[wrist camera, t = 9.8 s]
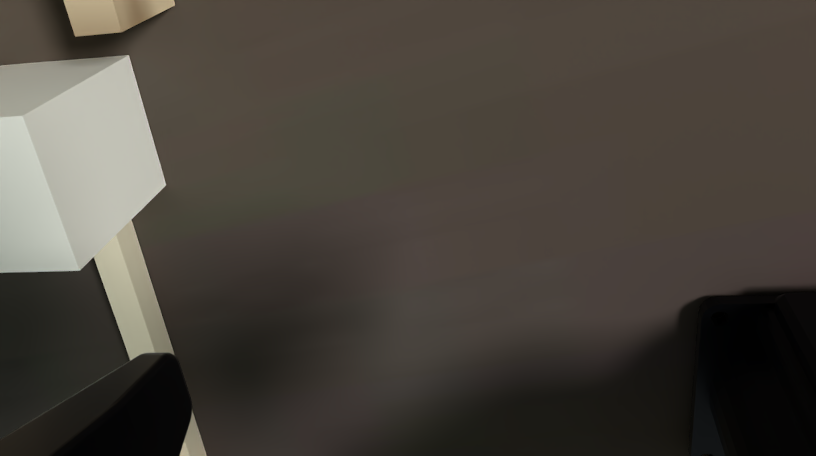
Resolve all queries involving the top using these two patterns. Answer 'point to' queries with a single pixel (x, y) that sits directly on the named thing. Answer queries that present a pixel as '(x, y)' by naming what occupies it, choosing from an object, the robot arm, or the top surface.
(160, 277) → the top surface
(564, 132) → the top surface
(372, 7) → the top surface
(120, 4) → the oak lane
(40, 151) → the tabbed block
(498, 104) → the top surface
